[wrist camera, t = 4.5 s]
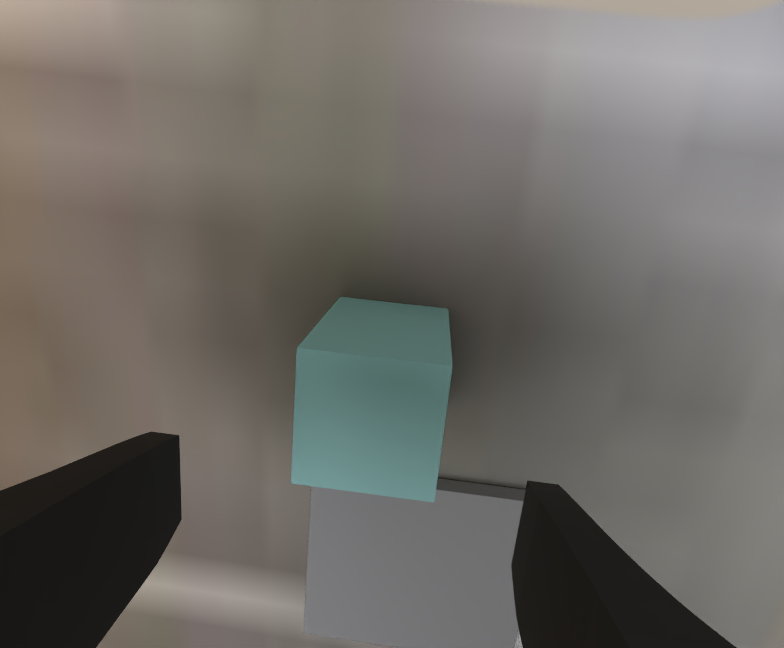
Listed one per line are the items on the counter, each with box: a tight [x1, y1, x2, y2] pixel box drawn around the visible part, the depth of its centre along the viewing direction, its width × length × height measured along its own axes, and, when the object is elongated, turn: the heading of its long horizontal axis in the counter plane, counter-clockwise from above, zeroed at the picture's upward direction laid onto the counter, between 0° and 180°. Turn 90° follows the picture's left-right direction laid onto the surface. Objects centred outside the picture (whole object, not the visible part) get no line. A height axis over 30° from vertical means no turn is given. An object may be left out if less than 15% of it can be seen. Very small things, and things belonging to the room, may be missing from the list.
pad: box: [303, 478, 526, 648], centre depth 21 cm, size 9×8×1 cm
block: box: [291, 297, 453, 502], centre depth 16 cm, size 4×4×6 cm
